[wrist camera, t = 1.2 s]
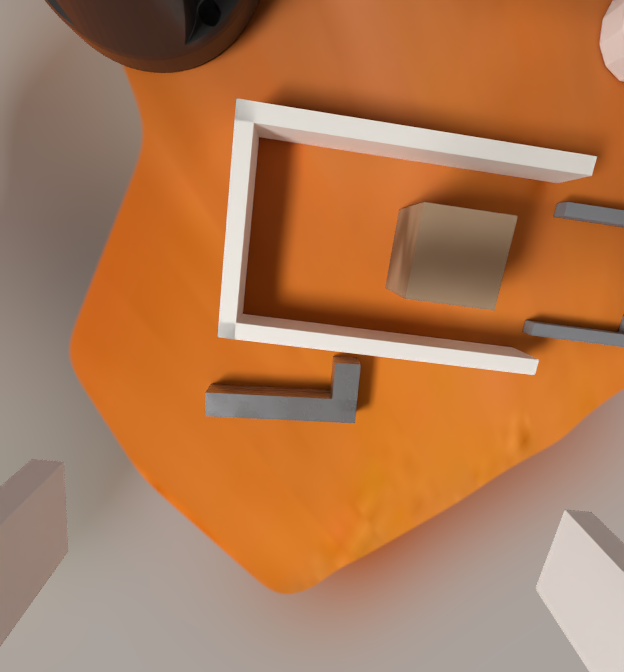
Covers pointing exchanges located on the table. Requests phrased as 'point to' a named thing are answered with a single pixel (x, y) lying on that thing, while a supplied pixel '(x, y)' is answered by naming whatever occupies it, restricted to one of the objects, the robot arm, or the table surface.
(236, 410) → the crook tool
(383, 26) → the table surface
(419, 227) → the walnut cube
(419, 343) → the cubby
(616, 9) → the white cup
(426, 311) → the table surface
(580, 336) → the grey bracket
